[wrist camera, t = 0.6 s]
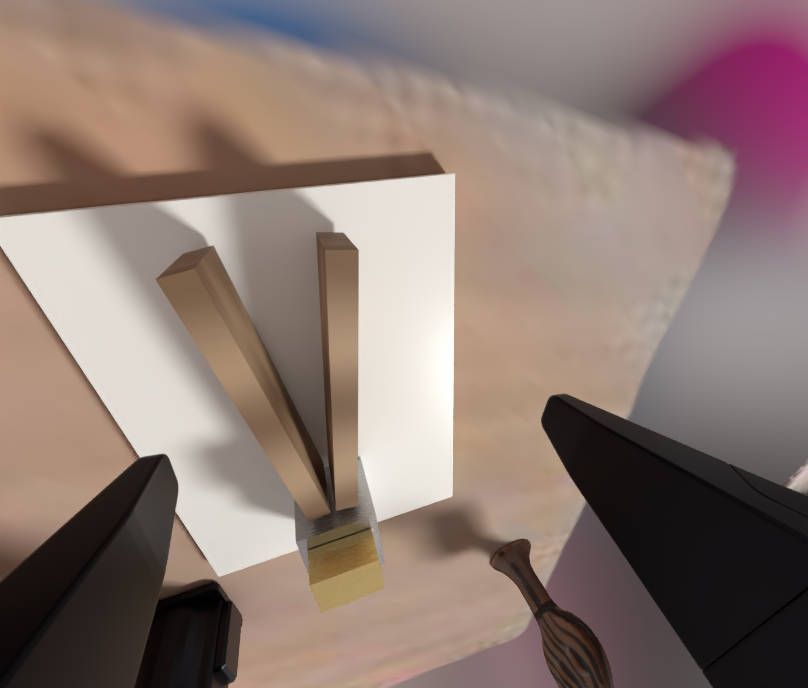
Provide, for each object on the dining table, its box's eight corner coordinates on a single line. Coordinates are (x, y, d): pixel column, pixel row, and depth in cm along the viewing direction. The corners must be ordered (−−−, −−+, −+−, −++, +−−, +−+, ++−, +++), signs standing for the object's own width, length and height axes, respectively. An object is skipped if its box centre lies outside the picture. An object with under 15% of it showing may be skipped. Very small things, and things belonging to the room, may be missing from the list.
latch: (376, 557, 21) (384, 588, 19) (318, 579, 20) (321, 613, 18) (371, 528, 19) (378, 559, 18) (307, 550, 18) (309, 585, 17)
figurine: (505, 532, 36) (669, 804, 21) (541, 525, 37) (716, 770, 22) (483, 575, 39) (613, 838, 24) (518, 566, 40) (659, 806, 25)
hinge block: (369, 503, 25) (384, 562, 21) (309, 523, 24) (314, 589, 20) (360, 457, 22) (376, 514, 19) (293, 476, 21) (295, 542, 18)
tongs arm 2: (323, 462, 21) (330, 512, 18) (304, 469, 21) (308, 521, 18) (213, 245, 14) (194, 268, 11) (183, 253, 14) (155, 279, 11)
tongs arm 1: (347, 457, 22) (357, 505, 19) (328, 461, 21) (335, 510, 18) (343, 232, 15) (358, 250, 12) (316, 232, 15) (324, 250, 12)
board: (220, 562, 24) (218, 576, 24) (2, 215, 12) (-18, 219, 12) (447, 486, 29) (452, 496, 28) (446, 173, 17) (454, 173, 16)
